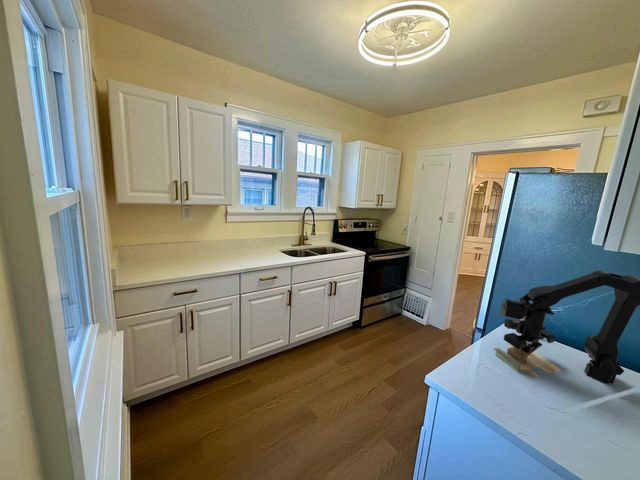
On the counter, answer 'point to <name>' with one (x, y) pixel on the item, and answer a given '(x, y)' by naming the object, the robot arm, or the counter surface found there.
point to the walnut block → (518, 354)
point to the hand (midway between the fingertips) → (524, 356)
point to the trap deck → (532, 362)
